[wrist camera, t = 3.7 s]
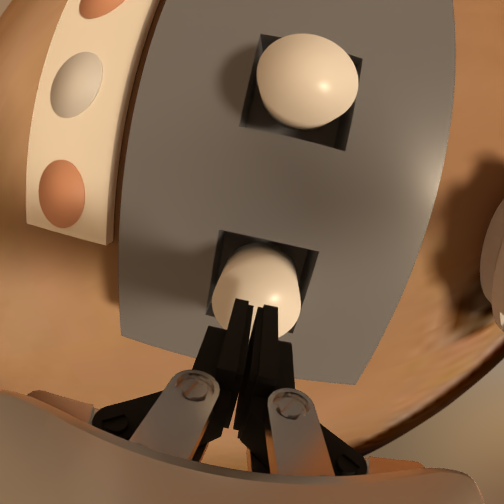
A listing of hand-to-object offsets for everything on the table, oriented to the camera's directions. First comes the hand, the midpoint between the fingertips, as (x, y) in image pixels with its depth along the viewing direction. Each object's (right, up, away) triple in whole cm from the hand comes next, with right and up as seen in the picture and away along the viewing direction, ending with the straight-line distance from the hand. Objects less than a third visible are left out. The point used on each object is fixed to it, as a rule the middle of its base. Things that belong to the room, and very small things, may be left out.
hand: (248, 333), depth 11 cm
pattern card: (-12, +15, +4) cm, 19 cm away
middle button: (+3, +11, +1) cm, 11 cm away
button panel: (+3, +12, +3) cm, 13 cm away
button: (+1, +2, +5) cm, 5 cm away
